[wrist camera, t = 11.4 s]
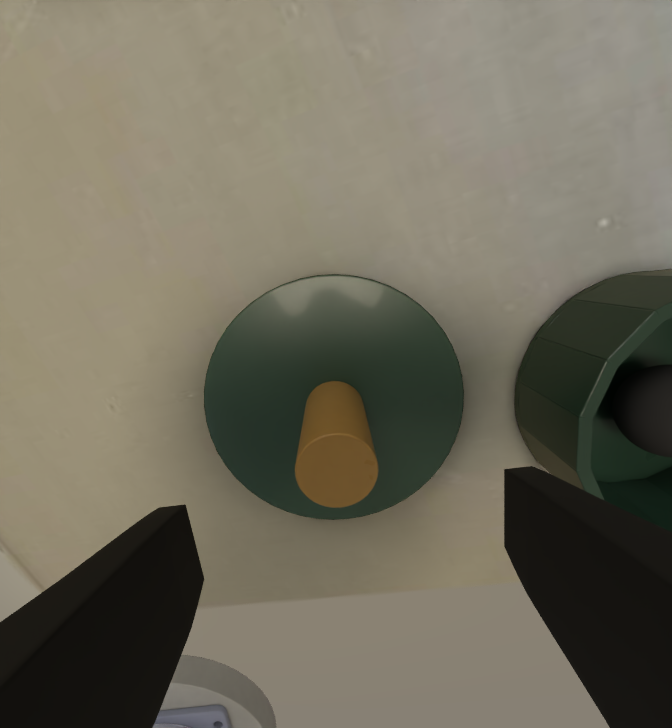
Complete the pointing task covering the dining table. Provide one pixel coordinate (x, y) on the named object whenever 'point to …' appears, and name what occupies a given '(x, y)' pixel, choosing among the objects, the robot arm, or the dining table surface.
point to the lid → (333, 397)
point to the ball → (646, 409)
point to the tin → (599, 391)
